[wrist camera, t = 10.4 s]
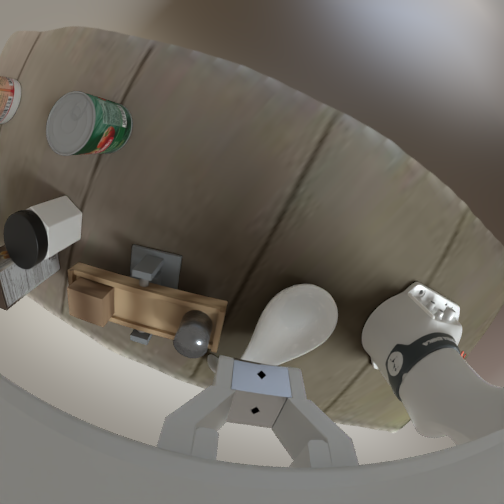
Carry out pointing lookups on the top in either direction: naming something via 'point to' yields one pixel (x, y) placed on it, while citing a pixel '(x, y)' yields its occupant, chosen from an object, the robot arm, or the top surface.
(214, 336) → the beam
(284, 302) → the spoon rest
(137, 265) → the stand
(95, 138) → the canned tomato
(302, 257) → the top surface
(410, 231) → the top surface
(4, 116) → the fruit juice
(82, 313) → the block
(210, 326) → the cylinder
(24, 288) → the coffee box
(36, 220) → the jar
